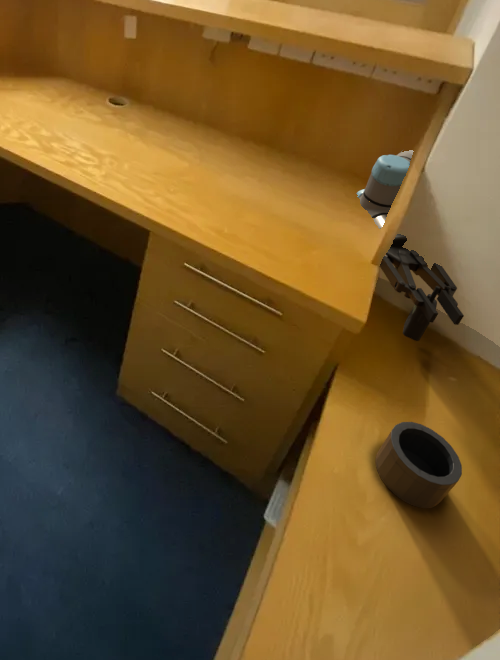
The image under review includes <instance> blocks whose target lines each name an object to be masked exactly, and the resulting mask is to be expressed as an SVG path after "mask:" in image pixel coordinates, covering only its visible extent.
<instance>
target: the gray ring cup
mask: <svg viewBox="0 0 500 660" xmlns="http://www.w3.org/2000/svg"><path fill="white" fill-rule="evenodd" d="M375 467H376V471H377V474H378V476H379V477H380V479H381V481H382V482H383V484H384V485H385V487H387V489H389V491H390V492H392V494H393V495H395V496H396V497H397V498H399V499H400V500H401V501H403V502H405V503H407V504H408V505H410V506H413V507H416V508H420V509H432V508H434V507H436V506H438V505H439V504H440V503H442V501H443V500H444V498H446V497H447V495H448V494H449V493H450V492H451V491H452V489H454V487H455V486H456V484H457V483H458V482H459V481H460V479H461V477H462V475H463V467H462V462H461V459H460V457H459V456H458V453H457V452H456V451H455V449H454V448H453V447H452V445H451V444H450V443H449V442H448V441H447V440H446V438H444V437H443V436H442V435H440V434H439V433H438V432H436V431H434V430H433V429H432V428H430V427H428V426H426V425H424V424H421V423H418V422H413V421H402V422H399V423H397V424H395V425H394V427H393V428H392V429H391V431H390V432H389V434H388V435H387V436H386V438H385V440H384V442H383V443H382V444H381V446H380V448H379V449H378V451H377V452H376V455H375Z"/></svg>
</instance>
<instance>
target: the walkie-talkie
mask: <svg viewBox="0 0 500 660" xmlns="http://www.w3.org/2000/svg"><path fill="white" fill-rule="evenodd" d="M439 290H440V287H439V286H436V287H435V289H434V291H433V290H432V293H428V294H426V296H427V297H428V299H429V300H430V302H431V303H432V305H433V306H434V308H435V309H436V310H437V306H438V300H437V299H436V298H437V297H438V295H437V294H438V292H439ZM430 323H431V322H428V320H427V318H426V317H425V315H424V314H423V312H422V311H421V309H420V308H419V306H416V305H415V304H414V305H413V306H412V309H411V310H410V312H409V314H408V315H407V318H406V320H405V322H404V325H403V329H402V334H403V336H404V337H406V338H408V339H411V340H413V341H415V342H420V340H421V338H422V337H423V335H424V333H425V331H426V330H427V328H428V327H429V324H430Z"/></svg>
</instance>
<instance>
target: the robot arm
mask: <svg viewBox="0 0 500 660" xmlns="http://www.w3.org/2000/svg"><path fill="white" fill-rule="evenodd" d="M413 152H414V151H413V150H409V151H404V152H402V151H400V152H399V153H398V154H396V155H395V154H384V155H383V154H382V155H381V156H379V157H378V158H377V160H376V161H375V163H374V165H373V166H372V169H371V173H370V175H369V177H368V180H367V183H366V185H365V188H364V189H360V190H358V191H357V192H356V194H357V195H358V196H357V197H358V198H359V199H360V204H361V206H362V207H363V208H364V209H365V210H367V211H368V213H369V214H370V215H371V217H372V218H374V219H373V220H374V222H375V224H376V225H377V226H378V228H379V229H381V228H382V227H383V225H384V223H385V220H386V217H387V214H388V212H389V210H390V208H391V205H392V203H393V201H394V199H395V197H396V195H397V193H398V191H399V189H400V186H401V184H402V181H403V179H404V177H405V176H406V173H407V171H408V168H409V166H410V161H411V158H412V155H413ZM369 201H370V202H369ZM406 241H407V238H406V236H404V235H401V234H397V235H396V237H395V239H394V240H393V244H392V245H391V247H390V249H389V250H388V252H387V253H386V255H385V256H384V257H383V259H382V261H381V264H380V266H379V268H380V269H381V271H382V273H383V274H384V276H385V277H386V278H387V280H388V281H389V284H391V286H392V288H393V289H394V291H395V292H397V293H398V294H400V293H404V295H403V296H404V297H405V298H406V299H411V302H412V303H413V304H414V305H416V306H419V308H420V309H421V311H422V312H423V314H424V315H425V317H426V318H427V320H428V322H430V323H431V324H433V323H434V322H435V320H436V318H437V317H438V315H439V312H438V311H437V308H436V309H435V308H434V306H433V305H432V303H431V302H430V300H429V299H428V297H427V294H426V293H425V291H424V290H423V289H422V287H417V285H416V283H415V280H414V277H413V274H414V275H415V276H419V277H420V279H421V280H422V281H423V282H425V284H426V285H427V286H428V287H429V288H430V289H431V290H432V292H433V291H434V289H435V287H436V286H439V287H440V290H439V292H438V294H437V297H436V301H437V303H439V305H440V306H441V307H442V310H444V312H445V314H447V316H448V318H449V319H450V321H451V322H452V324H453V325H455V326H459V325H460V323H461V322H462V320H463V319H464V317H465V315H464V314H463V312H462V311H461V309H460V308H459V307H458V306H459V303H458V301H457V300H456V299H455V297H454V295H455V293H456V291H457V290H458V287H457V285H456V284H455V282H454V281H453V279H451V277H450V276H449V274H448V273H447V271H446V270H445V268H444V266H443V265H442V266H440V265H438V264H436V263H434V264H433V266H432V268H431V270H430V269H429V268H428V265H427V263H426V262H425V261H424V258H423V257H422V256H419V254H418V253H417V252H416V251H414V250H411V251H409V250H408V249H406V248H403V247H402V246H403V245H404V243H405V242H406ZM412 273H413V274H412Z"/></svg>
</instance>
